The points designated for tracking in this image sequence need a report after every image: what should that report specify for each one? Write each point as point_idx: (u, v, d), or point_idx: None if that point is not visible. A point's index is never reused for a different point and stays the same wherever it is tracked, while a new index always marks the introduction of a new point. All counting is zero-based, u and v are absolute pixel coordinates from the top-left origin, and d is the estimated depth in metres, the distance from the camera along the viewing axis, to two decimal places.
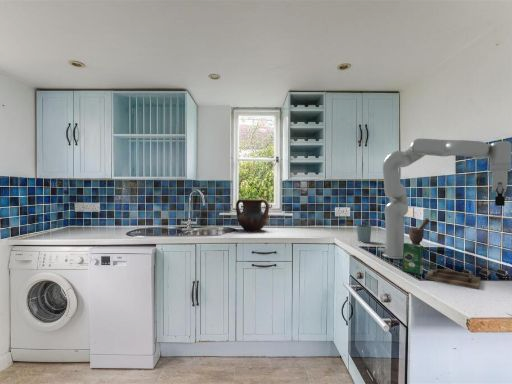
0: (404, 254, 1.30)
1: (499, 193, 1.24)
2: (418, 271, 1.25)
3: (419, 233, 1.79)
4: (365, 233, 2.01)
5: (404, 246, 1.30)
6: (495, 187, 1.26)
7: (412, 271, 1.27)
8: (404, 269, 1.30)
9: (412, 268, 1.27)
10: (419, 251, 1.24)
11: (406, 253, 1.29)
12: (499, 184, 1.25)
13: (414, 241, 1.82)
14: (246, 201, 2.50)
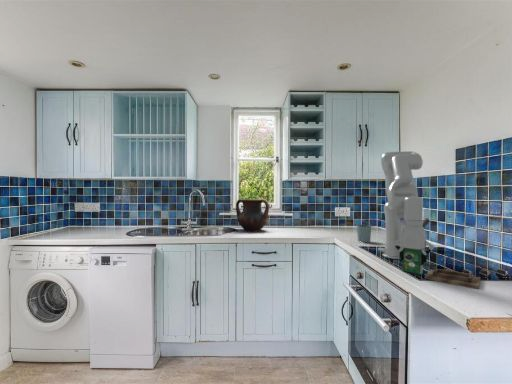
0: (404, 254, 1.30)
1: (429, 251, 1.23)
2: (418, 271, 1.25)
3: None
4: (365, 233, 2.01)
5: None
6: (424, 245, 1.23)
7: (412, 271, 1.27)
8: (404, 269, 1.30)
9: (412, 268, 1.27)
10: (419, 251, 1.24)
11: (406, 253, 1.29)
12: (428, 242, 1.24)
13: None
14: (246, 201, 2.50)
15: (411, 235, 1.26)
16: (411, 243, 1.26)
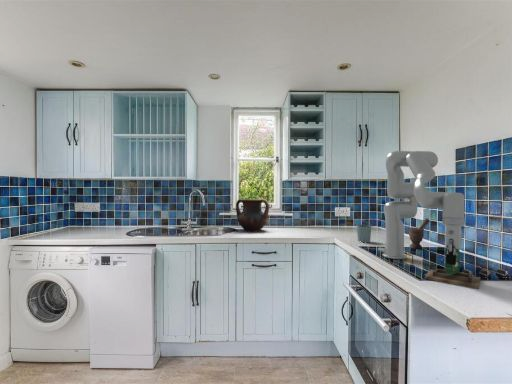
0: None
1: None
2: None
3: (419, 233, 1.79)
4: (365, 233, 2.01)
5: (453, 247, 1.15)
6: None
7: (456, 271, 1.17)
8: (453, 272, 1.15)
9: (456, 268, 1.17)
10: None
11: None
12: None
13: (414, 241, 1.82)
14: (246, 201, 2.50)
15: (460, 234, 1.16)
16: (460, 243, 1.16)
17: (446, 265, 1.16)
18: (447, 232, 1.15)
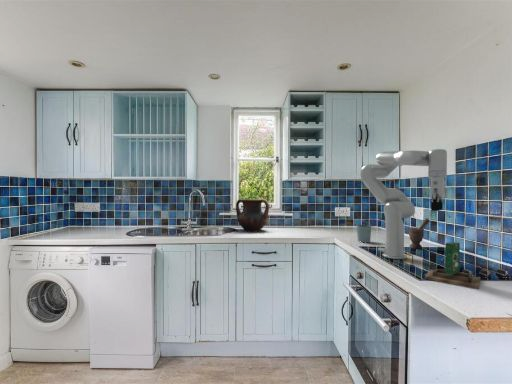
0: (453, 256, 1.15)
1: None
2: None
3: (419, 233, 1.79)
4: (365, 233, 2.01)
5: (453, 247, 1.15)
6: None
7: (456, 271, 1.17)
8: (453, 272, 1.15)
9: (456, 268, 1.17)
10: (459, 248, 1.19)
11: (454, 254, 1.16)
12: None
13: (414, 241, 1.82)
14: (246, 201, 2.50)
15: (443, 185, 1.33)
16: (444, 193, 1.33)
17: (446, 265, 1.16)
18: (432, 183, 1.33)
